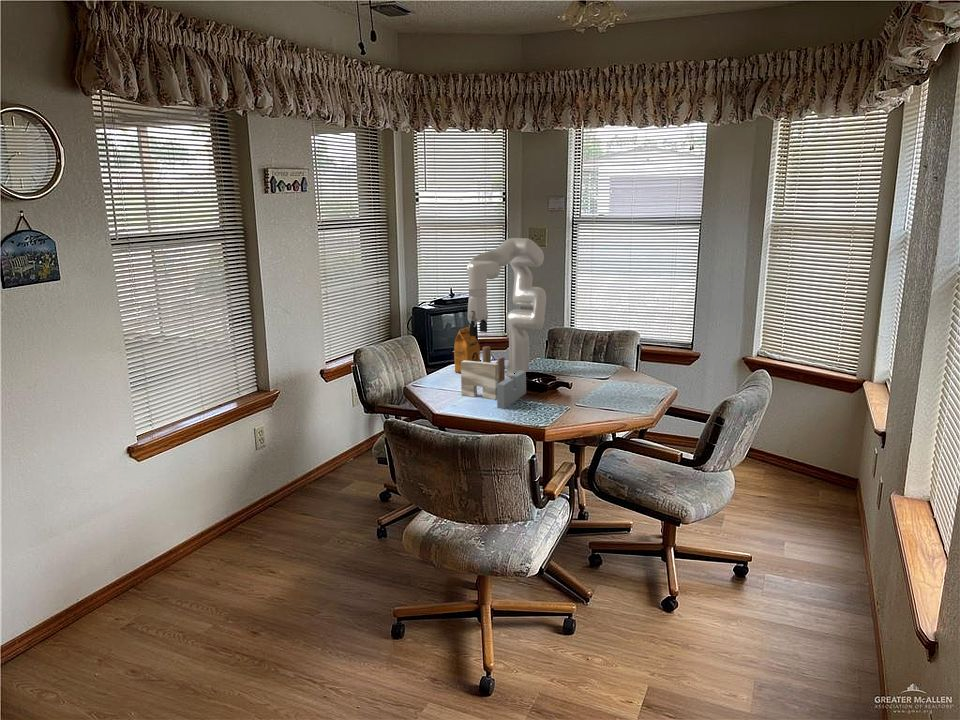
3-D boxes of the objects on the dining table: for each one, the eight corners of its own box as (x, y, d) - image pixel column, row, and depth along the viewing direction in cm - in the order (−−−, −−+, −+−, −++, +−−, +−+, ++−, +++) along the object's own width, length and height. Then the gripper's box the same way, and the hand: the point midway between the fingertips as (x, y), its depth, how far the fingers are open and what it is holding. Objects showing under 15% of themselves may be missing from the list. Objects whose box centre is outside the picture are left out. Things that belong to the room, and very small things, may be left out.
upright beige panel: (464, 393, 293) (463, 360, 289) (498, 397, 286) (498, 363, 283) (461, 395, 290) (460, 361, 287) (495, 399, 284) (495, 365, 280)
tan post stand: (500, 389, 298) (499, 350, 294) (481, 386, 304) (480, 347, 300) (505, 387, 301) (504, 348, 297) (486, 384, 307) (485, 345, 303)
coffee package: (483, 370, 332) (482, 326, 327) (467, 375, 323) (466, 330, 318) (468, 367, 338) (467, 324, 333) (451, 372, 329) (450, 328, 324)
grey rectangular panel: (519, 392, 293) (519, 370, 291) (526, 393, 292) (526, 371, 289) (497, 408, 272) (497, 384, 270) (504, 409, 271) (503, 385, 268)
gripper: (478, 290, 287) (479, 329, 291) (460, 295, 272) (461, 337, 276) (494, 290, 284) (495, 330, 288) (477, 296, 268) (477, 338, 272)
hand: (478, 333), depth 282 cm, fingers open, 9 cm apart
